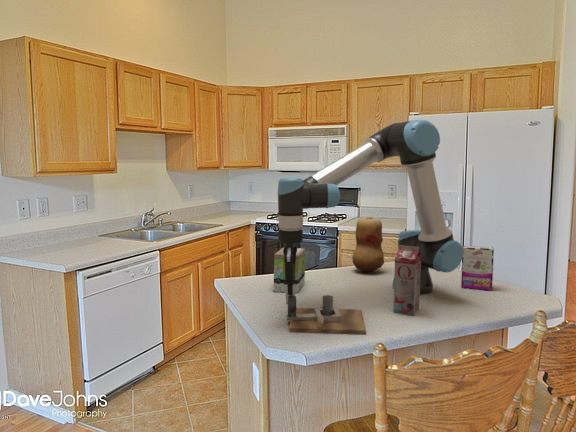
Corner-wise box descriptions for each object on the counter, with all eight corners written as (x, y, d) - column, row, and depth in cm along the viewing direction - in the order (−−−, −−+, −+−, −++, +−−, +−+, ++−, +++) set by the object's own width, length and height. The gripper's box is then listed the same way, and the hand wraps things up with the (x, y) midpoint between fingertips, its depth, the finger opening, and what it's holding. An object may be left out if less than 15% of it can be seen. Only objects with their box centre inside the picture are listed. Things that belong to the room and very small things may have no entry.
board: (361, 313, 142) (361, 289, 141) (366, 334, 124) (366, 307, 123) (294, 311, 144) (294, 287, 143) (289, 332, 126) (289, 305, 125)
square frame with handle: (337, 313, 137) (337, 292, 136) (341, 321, 130) (341, 299, 129) (286, 314, 136) (286, 293, 135) (287, 323, 129) (287, 300, 128)
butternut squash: (354, 275, 189) (355, 219, 186) (350, 268, 202) (351, 215, 199) (386, 275, 189) (388, 218, 186) (380, 268, 202) (381, 215, 199)
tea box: (298, 293, 163) (298, 255, 162) (273, 292, 165) (272, 254, 164) (305, 282, 178) (305, 247, 176) (281, 281, 180) (281, 246, 178)
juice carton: (413, 316, 139) (416, 248, 136) (393, 312, 142) (395, 246, 139) (419, 310, 144) (421, 245, 142) (399, 306, 148) (401, 243, 145)
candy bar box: (491, 287, 170) (493, 246, 168) (492, 291, 165) (494, 249, 163) (460, 284, 174) (462, 244, 172) (460, 288, 170) (462, 247, 168)
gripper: (280, 225, 138) (280, 297, 141) (275, 232, 125) (275, 310, 128) (304, 225, 137) (303, 297, 140) (301, 232, 125) (300, 311, 128)
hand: (290, 303), depth 134 cm, fingers closed
